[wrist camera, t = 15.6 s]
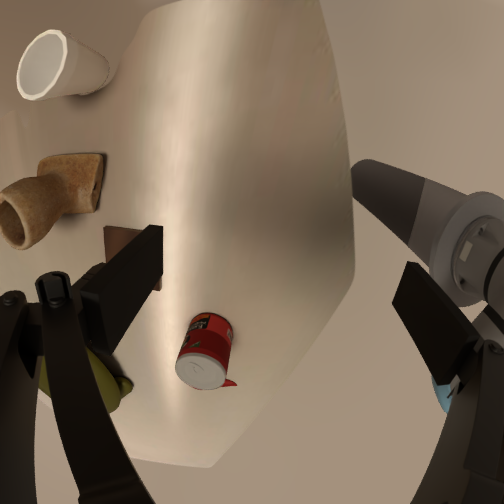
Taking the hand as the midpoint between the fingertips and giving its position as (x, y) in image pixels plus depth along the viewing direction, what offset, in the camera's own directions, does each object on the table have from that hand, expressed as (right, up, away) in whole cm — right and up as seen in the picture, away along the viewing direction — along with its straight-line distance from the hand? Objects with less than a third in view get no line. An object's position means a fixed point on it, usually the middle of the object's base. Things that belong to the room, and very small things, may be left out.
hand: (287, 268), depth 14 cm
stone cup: (-32, +12, +26) cm, 43 cm away
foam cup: (-26, +28, +18) cm, 43 cm away
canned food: (-9, -13, +35) cm, 39 cm away
